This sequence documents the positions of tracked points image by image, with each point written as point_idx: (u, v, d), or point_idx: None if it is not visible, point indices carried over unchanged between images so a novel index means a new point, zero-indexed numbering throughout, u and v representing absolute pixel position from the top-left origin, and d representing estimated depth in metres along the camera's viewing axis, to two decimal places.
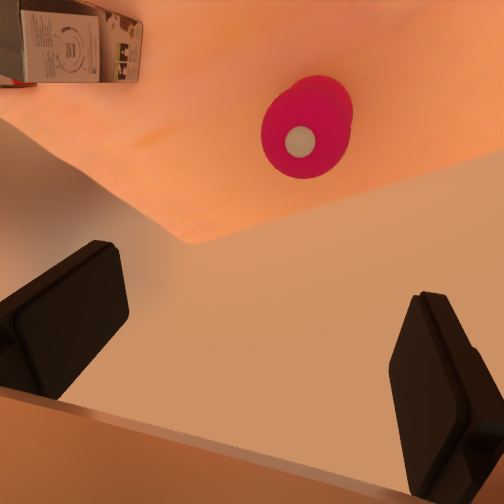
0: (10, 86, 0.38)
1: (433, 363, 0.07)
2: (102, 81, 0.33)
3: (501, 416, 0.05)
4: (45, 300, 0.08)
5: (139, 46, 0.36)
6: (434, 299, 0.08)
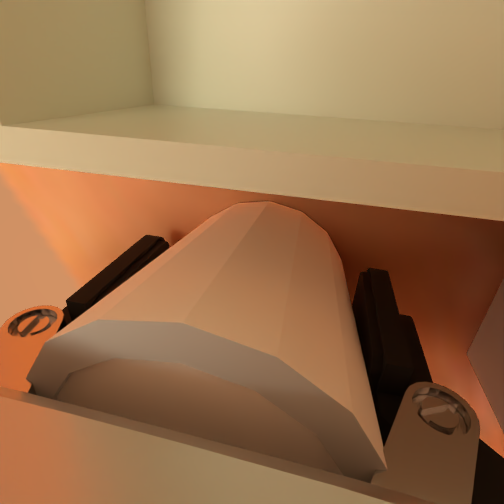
0: None
1: (365, 326, 0.08)
2: None
3: (407, 362, 0.06)
4: None
5: None
6: (376, 274, 0.09)
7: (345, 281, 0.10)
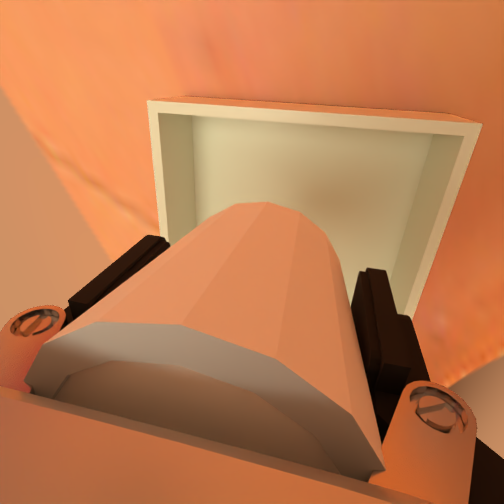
0: None
1: (363, 325, 0.08)
2: None
3: (404, 361, 0.06)
4: None
5: None
6: (374, 273, 0.09)
7: (343, 282, 0.10)
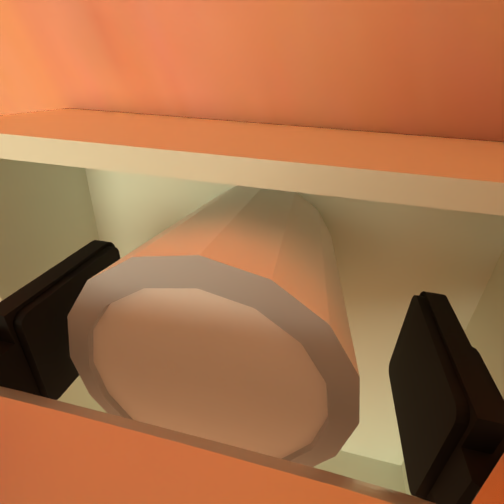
0: None
1: (433, 363, 0.07)
2: None
3: (501, 416, 0.05)
4: (45, 300, 0.08)
5: None
6: (434, 299, 0.08)
7: (333, 250, 0.11)
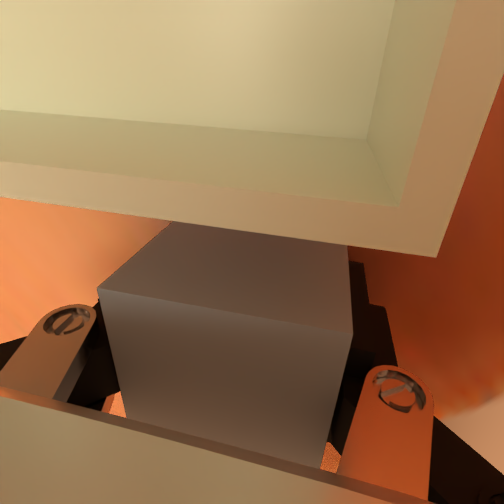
0: None
1: None
2: None
3: (370, 346, 0.07)
4: None
5: None
6: (351, 266, 0.10)
7: None
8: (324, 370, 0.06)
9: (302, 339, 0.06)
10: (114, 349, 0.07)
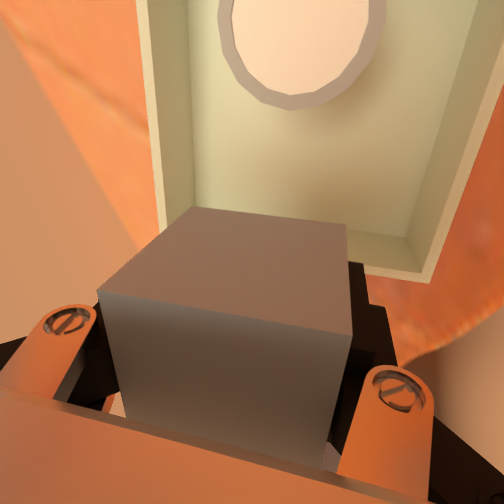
0: None
1: None
2: None
3: (370, 346, 0.07)
4: None
5: None
6: (351, 266, 0.10)
7: None
8: (323, 372, 0.06)
9: (302, 341, 0.06)
10: (114, 351, 0.07)
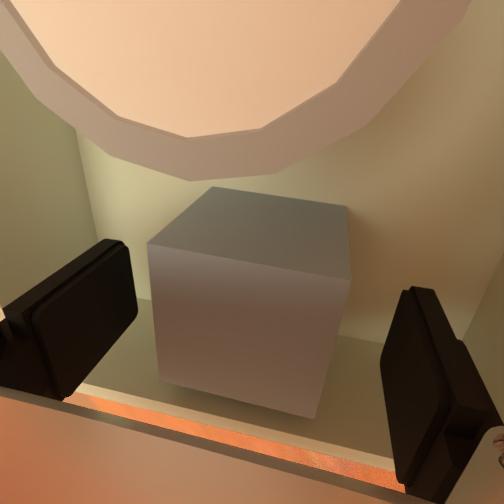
0: None
1: (419, 354, 0.07)
2: None
3: (481, 403, 0.06)
4: (60, 297, 0.08)
5: None
6: (422, 293, 0.08)
7: None
8: (327, 312, 0.08)
9: (311, 285, 0.08)
10: (154, 297, 0.09)
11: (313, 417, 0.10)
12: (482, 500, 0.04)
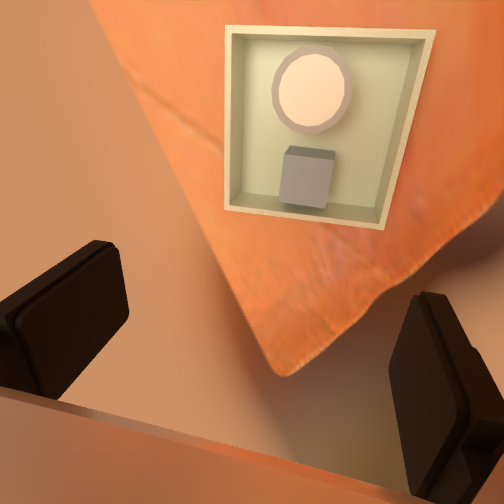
0: None
1: (433, 363, 0.07)
2: None
3: (501, 416, 0.05)
4: (45, 300, 0.08)
5: None
6: (434, 299, 0.08)
7: None
8: (329, 170, 0.32)
9: (325, 162, 0.32)
10: (282, 170, 0.33)
11: None
12: None
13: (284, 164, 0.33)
